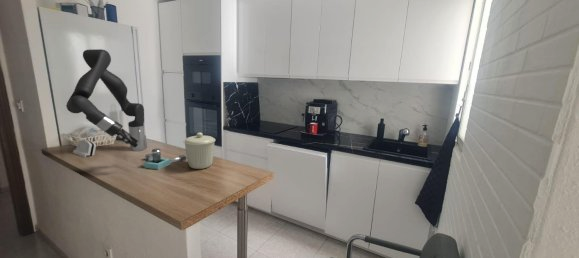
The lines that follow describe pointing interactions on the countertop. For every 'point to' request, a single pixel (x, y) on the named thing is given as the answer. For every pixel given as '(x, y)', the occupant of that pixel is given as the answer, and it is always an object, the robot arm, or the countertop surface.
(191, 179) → the countertop surface
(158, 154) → the coupler
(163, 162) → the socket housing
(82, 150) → the hinge
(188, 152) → the canister
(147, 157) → the shaft
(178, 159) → the shaft
